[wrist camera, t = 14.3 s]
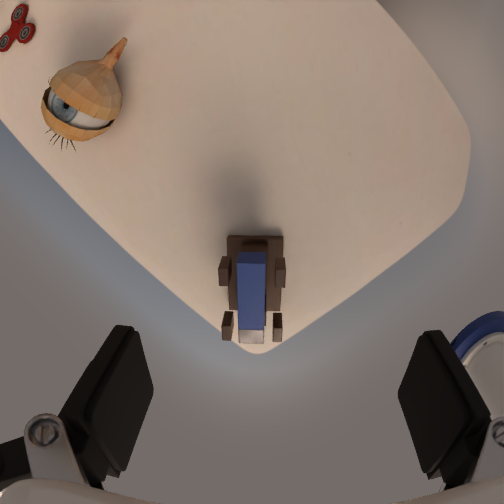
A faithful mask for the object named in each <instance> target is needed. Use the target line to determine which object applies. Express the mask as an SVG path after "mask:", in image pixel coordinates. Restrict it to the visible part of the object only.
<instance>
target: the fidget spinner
mask: <svg viewBox="0 0 504 504" xmlns="http://www.w3.org/2000/svg"><path fill="white" fill-rule="evenodd" d="M27 11H28V7H27V5H25V4H20V5H18V6H17V7H16V8H15V9H14V11H13V13H12V16H11V21H12V23H11V27H10V29H9V30H8V31H7V32H6V33H4V34H3V35H2V36H1V37H0V52H5V51H7V50H8V49H9V47H10V46H11V44H12V42H13V41H14V40H15V39H17V40H18V42H20V43H27V42H28V41H29V40H30V39H31V38H32V36H33V34H34V31H35V26H34V24H32V23H26V24H25V23H24V18H25V16H26V14H27ZM19 13H20V14H19ZM26 31H27V33H26ZM25 33H26V35H25ZM4 43H5V44H4Z"/></svg>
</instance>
